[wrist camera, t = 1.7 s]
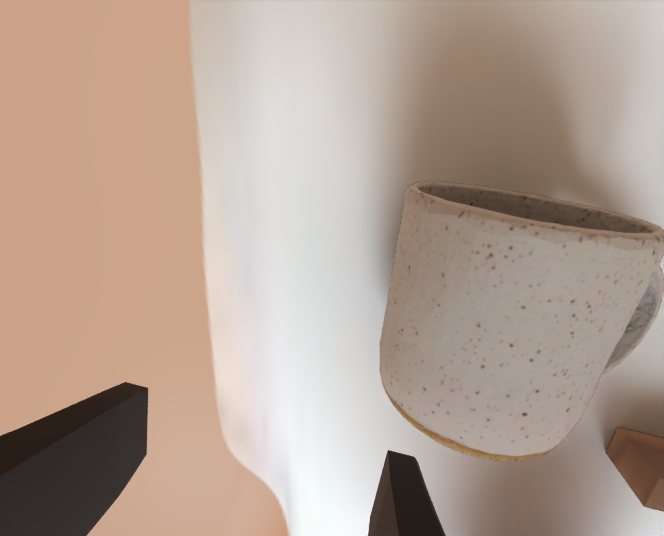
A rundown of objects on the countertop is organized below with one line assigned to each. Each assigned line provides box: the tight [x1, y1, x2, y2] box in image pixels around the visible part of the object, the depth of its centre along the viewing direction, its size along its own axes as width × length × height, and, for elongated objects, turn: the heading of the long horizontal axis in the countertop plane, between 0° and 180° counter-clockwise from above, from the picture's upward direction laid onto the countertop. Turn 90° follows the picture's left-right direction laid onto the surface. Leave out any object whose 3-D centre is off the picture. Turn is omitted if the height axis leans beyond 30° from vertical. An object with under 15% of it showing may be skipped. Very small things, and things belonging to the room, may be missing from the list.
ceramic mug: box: [380, 181, 664, 461], centre depth 13 cm, size 11×8×8 cm
